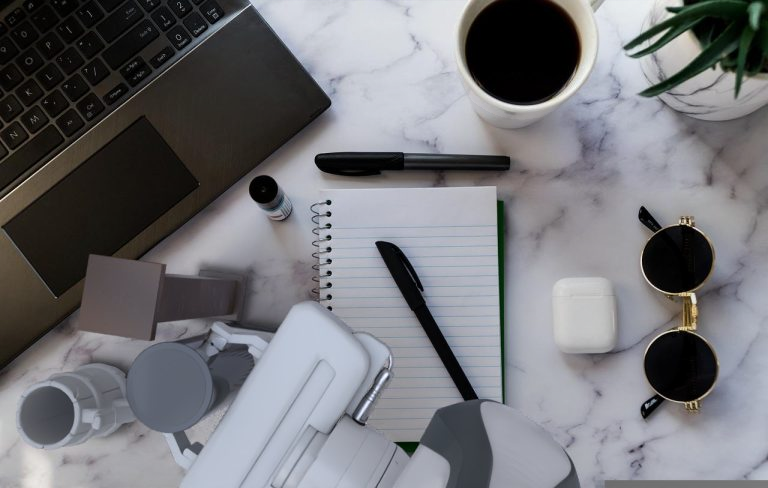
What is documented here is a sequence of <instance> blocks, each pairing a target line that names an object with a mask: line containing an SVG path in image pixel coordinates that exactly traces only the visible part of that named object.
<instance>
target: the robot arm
mask: <svg viewBox="0 0 768 488" xmlns="http://www.w3.org/2000/svg"><path fill="white" fill-rule="evenodd" d="M224 323H225V322H222V321H220V320H219V321H214V322H213V323H212V324H211V326H210V328H209V329H208V331H207V332H208V333H207V334H206V336H205V338H204V339H205V340H206V341H207V342H209V343H213V345H214V346H215V347H216V348H217V349H219V350H220V351H223V350H225V349H229V347H230V346H231V344H232V343H239V344H251V345H252V346H250V348H249V349H248V352H249V353H251V354H252V355H254V356H255V357H257V358H258V359H259V360H258V362H257V363H256V365H255V366H254V368H253V369H252V371H251V373H250V374H249V376H248V377H247V379H246V380H245V382H244V384H243V385H242V387H241V388H240V390H239V392H238V393H237V395H236V396H235V398H234V399H233V401H232V403H231V404H230V405H229V406H227V408H226V411H225V412H224V413H223V415H222V417H221V418H220V420H219V422H218V423H217V425H216V426H215V428H214V429H213V431H212V432H211V434H210V436H209V437H208V439H207V441H206V442H205V444H202V443H201V442H200V441H195V442H193V443H191V442H190V439H189V438H188V436H187V434H186V432H185V430H184V431H181V432H177V433H162V432H159V433H160V434H161V435H163V436H164V437H166V438H165V440H166V442H167V445H168V447H169V450H170V452H171V454H172V457H173V458H174V462H175V463H176V464H177V465H179V466H180V467H181V468H183V469H184V470H186V473H185V475H184V476H183V478H182V480H181V481H180V483H179V484H178V486H177V488H581V487H582V486H581V483H580V478H579V476H578V472H577V468H576V466H575V463H574V461H573V459H572V458H571V456H570V455H569V453H568V452H567V451H566V450H565V448H564V447H563V446H562V445H561V444H560V443H559V442H558V441H557V439H555V438H554V437H553V435H552V434H551V433H549V431H548V430H546V428H544V427H543V426H542V425H540V424H539V423H538V422H537V421H536V420H534V419H532V418H531V417H529V416H528V415H527V414H525V413H523V412H522V411H519V410H517V409H515V408H513V407H511V406H509V405H507V404H505V403H502V402H500V401H498V400H494V399H490V398H478V399H477V398H476V399H470V400H469V399H468V400H464V401H459V402H456V403H453V404H452V403H451V404H449V405H446V406H443V407H440V408H438V409H436V411H435V412H434V414H433V415H432V417H431V420H430V422H429V423H428V425H427V426H426V428H425V430H424V432H423V434H422V435H421V437H420V439H419V440H418V443H419V444H418V446H417V448H416V449H415V451H414V453H413V454H412V455H411V457H410V456H409V455H408V454H407V452H406V451H405V450H404V448H402V447H401V446H400V445H398V444H397V443H395V442H394V441H392V440H390V439H389V438H388V437H386V436H385V435H384V434H381V433H380V432H379V431H377V430H376V429H374V428H372V427H371V426H370V425H368V424H367V421H368V419H369V418H370V416H371V414H372V413H373V411H374V410H375V408H376V406H377V404H378V403H379V400H380V398H381V397H382V394H383V393H384V391H386V389H388V387H389V385H390V384H391V382H392V381H393V379H394V376H395V372H394V371H393V370H394V364H395V358H394V353H393V351H392V349H391V348H390V347H389V345H387V343H385V342H384V341H382V340H381V339H379V338H378V337H376V336H375V335H373V334H372V333H369V332H367V331H362V330H360V331H359V330H358V331H356V330H354V329H353V328H352V327H351V326H350V325H348V324H347V323H346V322H345V321H344V320H343V319H341V318H340V317H339V316H338V315H337V314H336V313H334V312H333V311H332V310H330V309H329V308H327V307H326V306H324V305H323V304H322V303H320V302H318V301H317V300H304V301H300V302H297V303H295V304H293V305H292V306H291V308H290V309H289V311H288V313H287V314H286V316H285V317H284V318H283V321H282V322H281V324H280V325H279V326H278V328H277V329H278V330H277V332H276V333H275V335H274V336H273V338H271V337H269V336H268V335H266V334H265V333H250V332H236V331H235V330H233V329H232V328H230V327H229V326H227V325H226V324H224ZM387 361H388V363H387V367H385V366H384V365H385V364H386V362H387Z"/></svg>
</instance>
